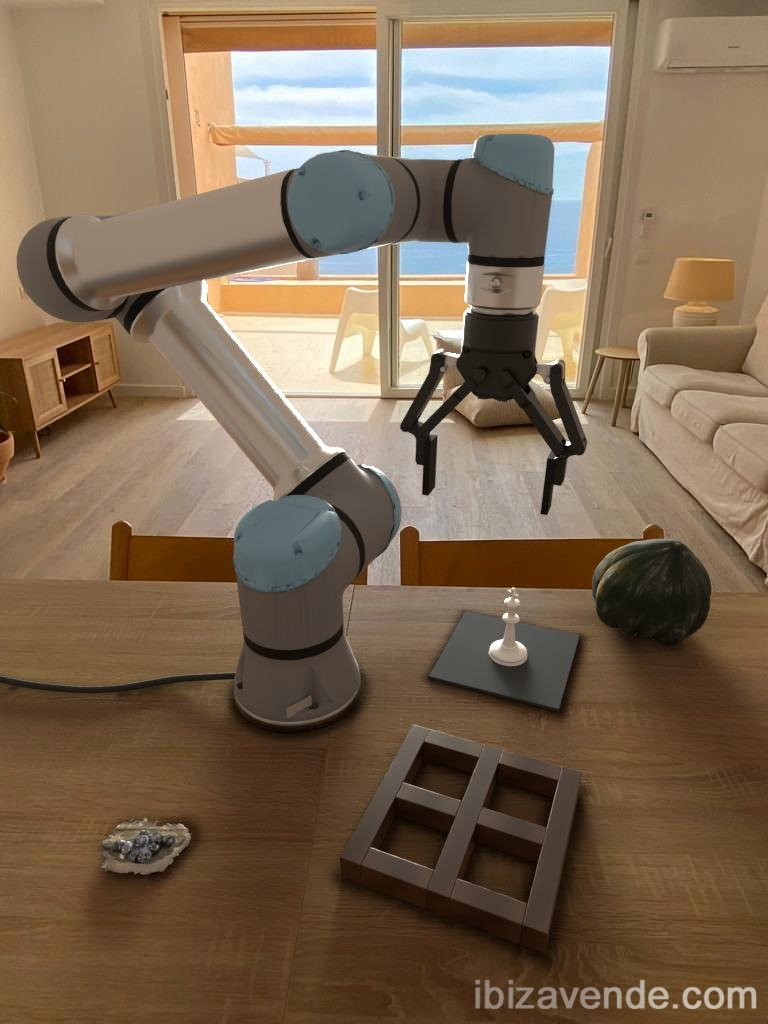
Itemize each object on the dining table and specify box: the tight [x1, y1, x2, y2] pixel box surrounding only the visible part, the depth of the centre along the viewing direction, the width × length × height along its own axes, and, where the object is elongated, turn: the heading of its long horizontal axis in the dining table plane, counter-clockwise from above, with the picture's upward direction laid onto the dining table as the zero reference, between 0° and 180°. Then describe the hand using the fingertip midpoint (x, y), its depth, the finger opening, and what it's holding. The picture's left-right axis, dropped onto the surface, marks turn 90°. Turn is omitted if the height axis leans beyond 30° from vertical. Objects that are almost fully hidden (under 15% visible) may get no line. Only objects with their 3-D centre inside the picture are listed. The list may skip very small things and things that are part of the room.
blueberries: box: [100, 817, 192, 876], centre depth 64 cm, size 7×8×2 cm
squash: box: [591, 538, 712, 646], centre depth 93 cm, size 14×15×15 cm
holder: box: [339, 724, 583, 955], centre depth 65 cm, size 18×18×2 cm
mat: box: [428, 610, 581, 712], centre depth 90 cm, size 16×16×1 cm
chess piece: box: [489, 586, 527, 666], centre depth 88 cm, size 5×5×10 cm
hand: (485, 500), depth 79 cm, fingers open, 13 cm apart
